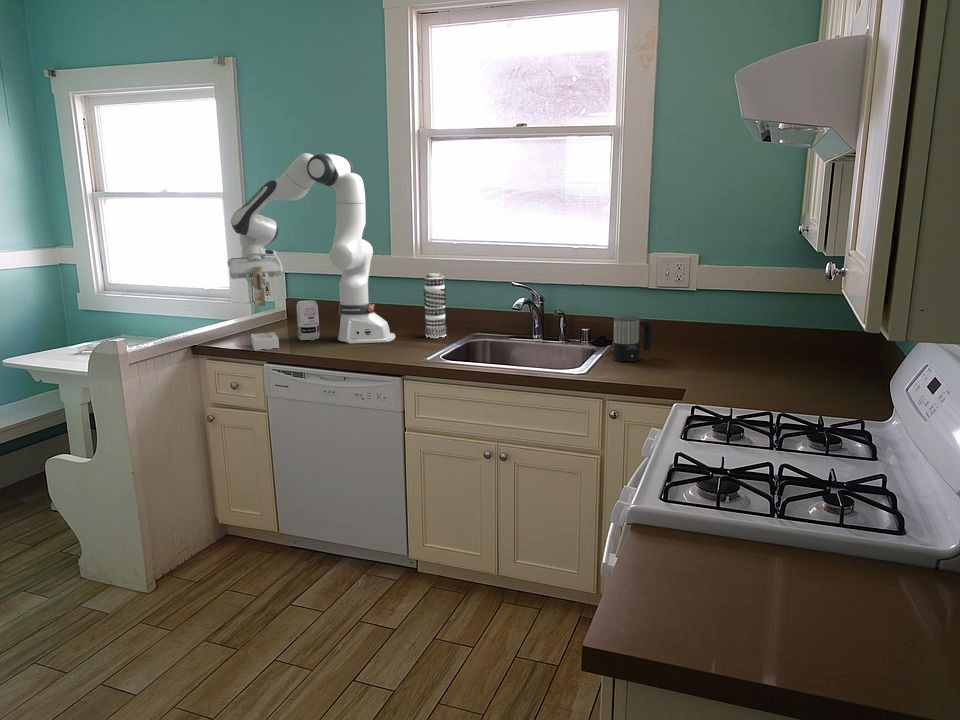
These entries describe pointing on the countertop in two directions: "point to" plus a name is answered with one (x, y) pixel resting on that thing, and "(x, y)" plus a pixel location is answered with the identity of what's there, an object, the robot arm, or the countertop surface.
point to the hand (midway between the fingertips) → (258, 284)
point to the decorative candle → (435, 305)
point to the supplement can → (308, 320)
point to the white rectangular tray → (264, 341)
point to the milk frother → (630, 337)
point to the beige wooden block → (258, 286)
